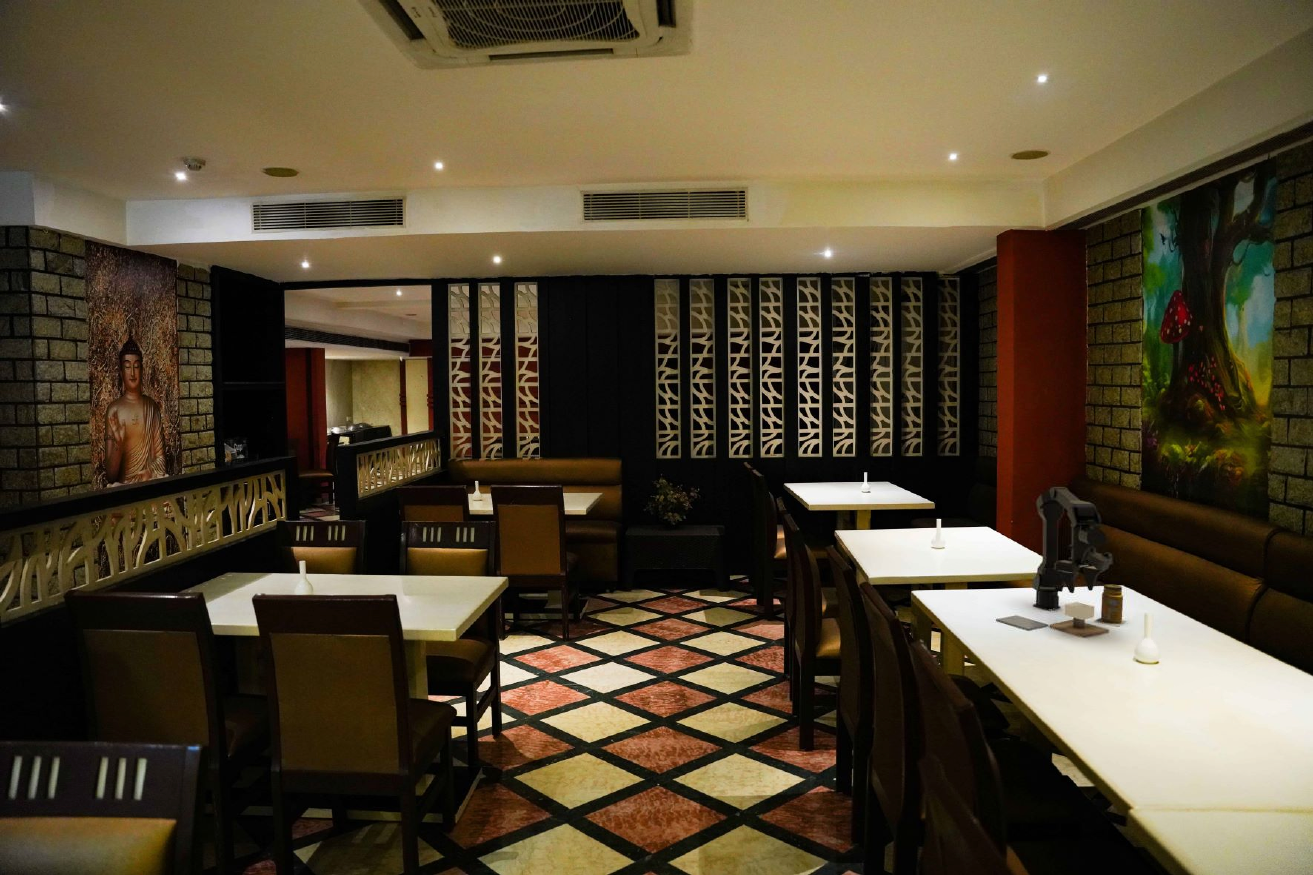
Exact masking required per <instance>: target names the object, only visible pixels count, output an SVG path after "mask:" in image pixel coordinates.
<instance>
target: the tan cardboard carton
mask: <svg viewBox="0 0 1313 875" xmlns="http://www.w3.org/2000/svg"><path fill="white" fill-rule="evenodd" d="M1064 616H1067V617H1071V618H1073V617H1074V618H1077V619H1081V620H1084V619H1085V620H1087V619H1092V618H1094V617H1095V606H1094V605H1091V604H1090V605H1089V604H1087V603H1082V602H1079V601H1075V602H1069V603H1064Z"/></svg>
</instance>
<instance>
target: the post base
mask: <svg viewBox="0 0 1313 875" xmlns="http://www.w3.org/2000/svg"><path fill="white" fill-rule="evenodd" d="M1072 618H1073V619H1070V620H1066V621H1060V622H1056V623H1050V624H1048V625H1049V626H1048V627H1049V628H1050V629H1052V628H1053V629H1052V630H1056V631H1059V632H1063V633H1067V634H1070V635H1074V636H1077V637H1080V638H1084V639H1086V638H1089V637H1090V638H1091V637H1095V636H1099V634H1100V635H1102V634H1108V633H1110V632H1109V630H1110V629H1109V628H1105V627H1102V626H1098V625H1094V624H1090V623H1087V622H1086V619H1084V620H1081V619H1077V618H1074V617H1072Z"/></svg>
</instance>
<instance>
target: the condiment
mask: <svg viewBox="0 0 1313 875" xmlns="http://www.w3.org/2000/svg"><path fill="white" fill-rule="evenodd" d="M1122 593H1123V587H1122V586H1121V585H1117V584H1112V583H1111V584H1110V583H1106V584H1104V586H1103V592H1102V593H1101V609H1100V610H1101V611H1100V617H1099V618H1097V619H1095V620H1094V622H1095V623H1099V624H1102V625H1103V624H1104V625H1109V626H1113V627H1114V626H1115V627H1119V626H1122V625H1124V624H1125V623H1126V622H1127V620H1124V619H1123V604H1124V595H1123V594H1122Z"/></svg>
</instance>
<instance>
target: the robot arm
mask: <svg viewBox="0 0 1313 875" xmlns="http://www.w3.org/2000/svg"><path fill="white" fill-rule="evenodd" d="M1036 508H1037V513H1038V515H1039V517H1040V518H1041V519H1042V562H1041V563H1040V564H1039V566H1038V567H1037V570H1036V574H1035V576H1034V578H1033V580H1032V581H1031V586H1032V589H1033V590H1035V592H1036V593H1035V603H1034V604H1032V606H1033V607H1036V608H1040V609H1044V610H1046V611H1052V610H1057V609H1061V605H1059V604H1060V603H1059V602H1060V596H1059V592H1061V593H1062V592H1063V589H1064V586H1065V585H1066V588H1067V589H1068V592H1069V593H1070V594H1074V593H1075V588H1076V580H1077V577H1078V576H1079V575H1080V573H1081V572H1079V571H1080V569H1082V570H1083V575H1084V578H1085V584H1086V586H1087V590H1088V591H1093V589H1094V588H1095V587H1094V586H1095V584H1096V581H1097V578H1099V577H1098V576H1099V575H1100V574H1102V573H1103V572H1105V571H1106V570H1108V569H1109V566H1110V565H1113V564H1114V562H1113V561H1114V560H1113V554H1112V553H1110V552H1104V553H1099V552H1098V551H1097V548H1101V547H1103V546H1104V545H1105V544H1106V542H1107V535H1106V533H1105V532H1104V531H1103V529H1101V527H1102V518H1101V516H1100V514H1099V512H1098V508H1097V507H1096V506H1095V504H1093V503H1091V502H1089V501H1084V500H1080V499H1079V498H1078V497H1077V496H1076V495H1074V494H1073V493H1072V492H1071V491H1070V490H1069V488H1067V487H1065V486H1063V487H1061V486H1057V487H1056V486H1054V487H1051V488H1050V489H1049V490H1047V491H1045V492H1043V493H1041V494H1040V495H1039V496H1038V497H1037V499H1036ZM1065 509H1066V510H1067V516H1068V518H1069V520H1070V522H1071V523H1070V527H1071V544H1069V545H1068V549H1071V557H1068V559H1067V560H1065V559H1064V560H1063V559H1062V560H1058V559H1059V557H1058V555H1059V551H1058V550H1059V546H1058V545H1059V521H1060V520H1061V518H1062V517H1063V515H1064V510H1065Z"/></svg>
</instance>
